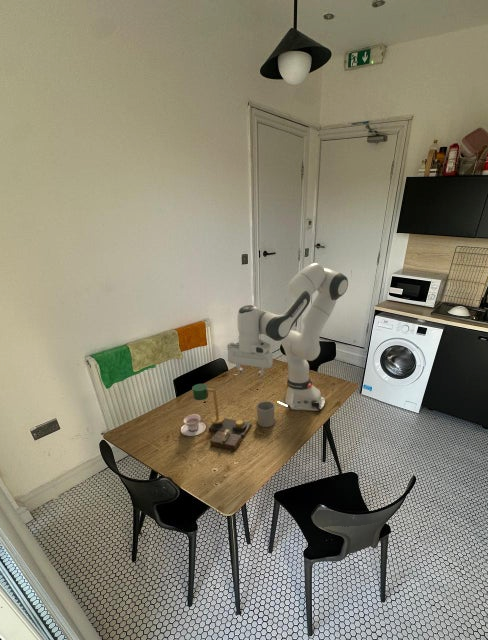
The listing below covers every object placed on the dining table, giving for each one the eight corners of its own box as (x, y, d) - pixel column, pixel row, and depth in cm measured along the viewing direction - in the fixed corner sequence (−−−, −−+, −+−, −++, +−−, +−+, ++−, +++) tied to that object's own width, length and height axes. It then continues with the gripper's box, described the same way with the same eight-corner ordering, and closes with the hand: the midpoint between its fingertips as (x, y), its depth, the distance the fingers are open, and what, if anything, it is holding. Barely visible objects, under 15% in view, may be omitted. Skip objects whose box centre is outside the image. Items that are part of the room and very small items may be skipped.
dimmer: (242, 439, 150) (242, 434, 149) (234, 451, 143) (233, 446, 141) (219, 434, 153) (218, 429, 152) (210, 446, 146) (209, 441, 144)
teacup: (197, 439, 150) (195, 428, 147) (175, 433, 154) (173, 422, 151) (210, 425, 160) (209, 414, 157) (190, 420, 163) (188, 409, 160)
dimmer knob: (226, 434, 149) (226, 428, 147) (229, 435, 148) (229, 429, 147) (221, 440, 144) (221, 435, 143) (225, 441, 144) (224, 435, 142)
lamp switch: (244, 423, 156) (244, 420, 155) (241, 427, 153) (241, 424, 152) (237, 422, 157) (237, 419, 156) (234, 426, 154) (234, 423, 153)
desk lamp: (226, 417, 160) (223, 387, 151) (220, 425, 154) (216, 394, 145) (201, 412, 163) (196, 382, 154) (194, 420, 157) (189, 389, 148)
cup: (276, 419, 165) (276, 403, 159) (270, 428, 158) (270, 411, 153) (261, 416, 167) (260, 400, 162) (255, 425, 160) (254, 408, 155)
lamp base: (251, 425, 160) (251, 420, 158) (243, 437, 151) (243, 431, 150) (218, 419, 164) (217, 414, 162) (209, 431, 156) (208, 425, 154)
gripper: (223, 344, 137) (226, 373, 144) (269, 350, 132) (269, 380, 139) (230, 339, 142) (232, 367, 149) (273, 345, 137) (274, 373, 144)
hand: (250, 373), depth 144 cm, fingers open, 8 cm apart
